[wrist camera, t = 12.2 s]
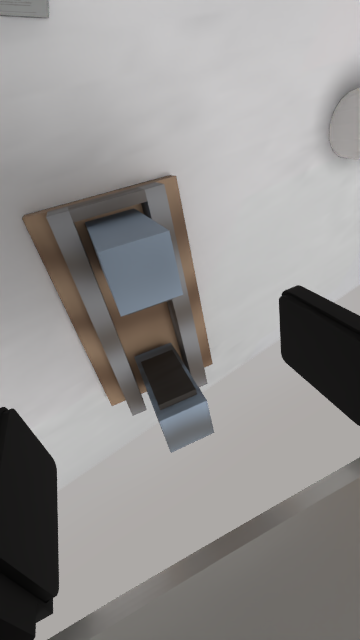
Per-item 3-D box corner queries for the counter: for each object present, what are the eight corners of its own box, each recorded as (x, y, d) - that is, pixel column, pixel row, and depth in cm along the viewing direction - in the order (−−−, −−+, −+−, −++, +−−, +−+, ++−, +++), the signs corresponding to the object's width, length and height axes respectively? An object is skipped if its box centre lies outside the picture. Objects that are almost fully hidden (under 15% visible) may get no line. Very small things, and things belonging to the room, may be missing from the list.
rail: (24, 215, 23) (3, 250, 14) (170, 175, 25) (230, 183, 16) (109, 396, 33) (128, 481, 24) (207, 356, 35) (255, 420, 27)
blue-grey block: (84, 222, 23) (97, 252, 15) (134, 208, 24) (169, 230, 16) (104, 276, 25) (124, 324, 18) (148, 262, 26) (185, 302, 19)
